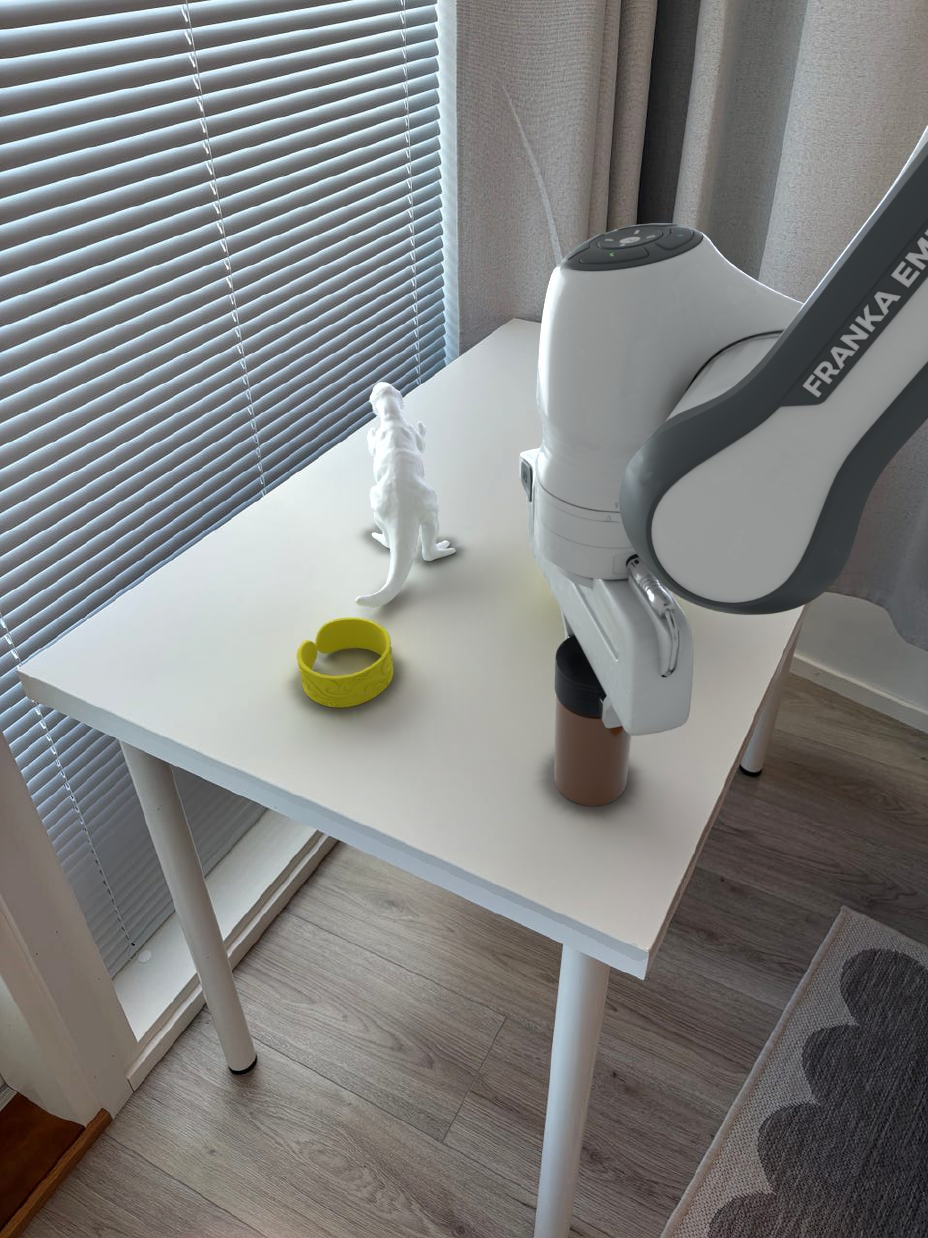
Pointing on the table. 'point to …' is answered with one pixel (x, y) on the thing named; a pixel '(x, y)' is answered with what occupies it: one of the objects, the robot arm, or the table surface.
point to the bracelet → (353, 685)
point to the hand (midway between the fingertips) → (595, 684)
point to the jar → (589, 758)
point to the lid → (576, 679)
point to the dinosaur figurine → (400, 493)
